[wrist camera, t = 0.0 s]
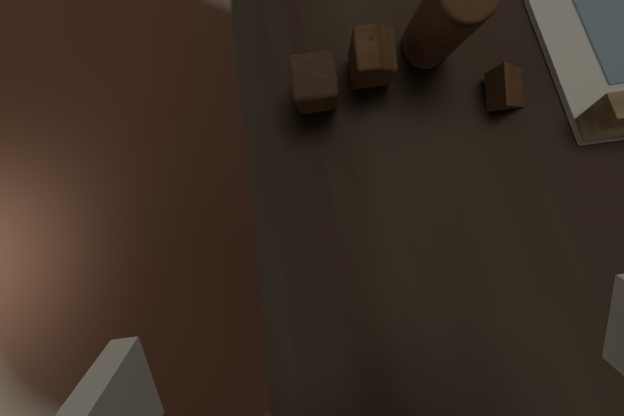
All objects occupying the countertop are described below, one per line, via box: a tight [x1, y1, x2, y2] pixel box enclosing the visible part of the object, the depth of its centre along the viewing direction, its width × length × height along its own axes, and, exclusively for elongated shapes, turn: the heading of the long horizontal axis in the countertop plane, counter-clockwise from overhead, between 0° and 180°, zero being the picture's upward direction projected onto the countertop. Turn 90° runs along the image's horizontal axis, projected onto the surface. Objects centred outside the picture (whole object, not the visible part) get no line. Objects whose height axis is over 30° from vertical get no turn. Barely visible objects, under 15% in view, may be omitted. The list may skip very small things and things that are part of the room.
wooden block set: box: [288, 0, 525, 114], centre depth 26 cm, size 18×9×10 cm, turn 95°
